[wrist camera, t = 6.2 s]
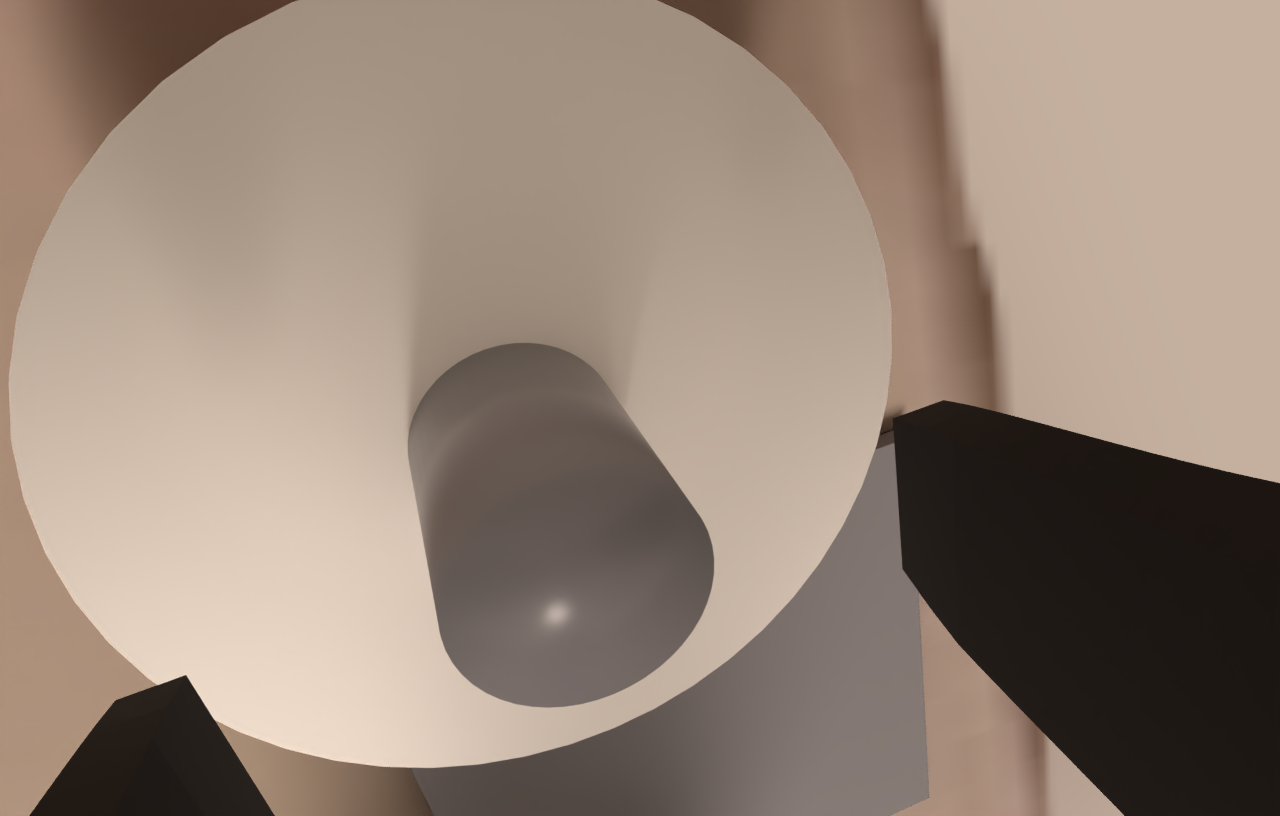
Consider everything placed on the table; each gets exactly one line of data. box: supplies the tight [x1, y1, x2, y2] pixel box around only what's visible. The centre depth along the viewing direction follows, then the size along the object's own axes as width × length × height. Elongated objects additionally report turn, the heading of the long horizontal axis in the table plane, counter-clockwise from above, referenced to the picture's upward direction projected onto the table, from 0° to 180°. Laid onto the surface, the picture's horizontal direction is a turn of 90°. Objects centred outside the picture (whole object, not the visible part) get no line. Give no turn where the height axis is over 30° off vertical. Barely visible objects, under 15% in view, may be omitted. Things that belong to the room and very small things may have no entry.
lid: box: [8, 0, 892, 768], centre depth 11 cm, size 12×12×4 cm
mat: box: [410, 430, 929, 816], centre depth 24 cm, size 14×14×1 cm
